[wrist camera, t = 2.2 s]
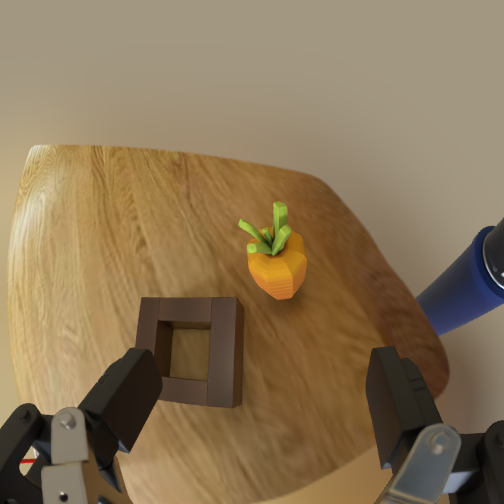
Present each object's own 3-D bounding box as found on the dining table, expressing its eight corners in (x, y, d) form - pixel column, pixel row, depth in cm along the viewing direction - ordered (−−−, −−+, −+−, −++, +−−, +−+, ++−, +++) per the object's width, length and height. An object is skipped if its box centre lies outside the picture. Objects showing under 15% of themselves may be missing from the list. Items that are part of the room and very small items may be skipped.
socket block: (244, 307, 31) (236, 296, 27) (241, 405, 26) (232, 408, 22) (157, 307, 33) (141, 297, 29) (149, 394, 28) (131, 394, 24)
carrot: (275, 323, 30) (252, 268, 16) (254, 286, 32) (219, 210, 19) (314, 300, 30) (323, 229, 17) (292, 265, 32) (282, 178, 19)
